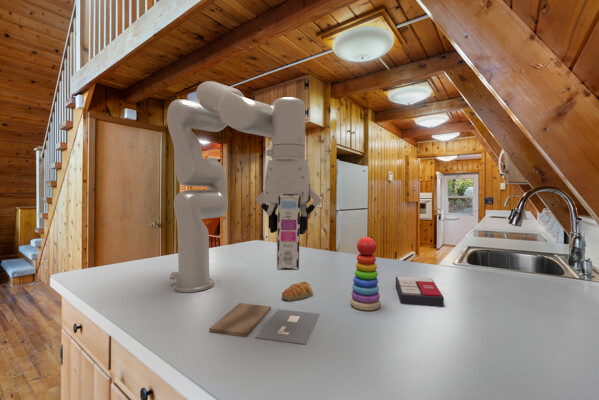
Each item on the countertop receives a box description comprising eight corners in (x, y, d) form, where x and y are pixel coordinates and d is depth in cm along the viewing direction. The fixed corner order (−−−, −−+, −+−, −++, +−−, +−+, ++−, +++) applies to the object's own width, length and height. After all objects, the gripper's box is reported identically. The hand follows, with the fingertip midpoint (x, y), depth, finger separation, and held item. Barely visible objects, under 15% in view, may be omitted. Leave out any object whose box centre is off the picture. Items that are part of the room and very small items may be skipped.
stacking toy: (347, 309, 77) (347, 238, 76) (353, 298, 84) (353, 234, 83) (378, 313, 74) (378, 240, 73) (381, 302, 81) (381, 235, 81)
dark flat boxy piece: (400, 292, 80) (395, 274, 94) (400, 307, 80) (395, 287, 95) (444, 295, 77) (432, 276, 92) (444, 310, 78) (431, 289, 92)
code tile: (255, 338, 62) (255, 337, 62) (278, 310, 76) (278, 309, 76) (305, 344, 59) (305, 343, 59) (319, 314, 73) (319, 313, 73)
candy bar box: (300, 270, 62) (301, 193, 61) (277, 271, 62) (277, 193, 61) (296, 258, 73) (297, 192, 73) (276, 258, 73) (277, 192, 72)
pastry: (291, 304, 80) (291, 291, 80) (276, 298, 85) (275, 285, 85) (314, 296, 87) (314, 283, 87) (299, 290, 92) (299, 278, 92)
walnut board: (209, 331, 65) (209, 328, 64) (239, 306, 79) (239, 303, 79) (246, 336, 62) (246, 333, 62) (270, 309, 77) (270, 306, 77)
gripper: (246, 153, 65) (246, 233, 66) (322, 151, 61) (321, 237, 61) (259, 157, 72) (259, 229, 73) (328, 155, 68) (327, 232, 69)
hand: (287, 232), depth 67 cm, fingers closed on candy bar box, 6 cm apart
